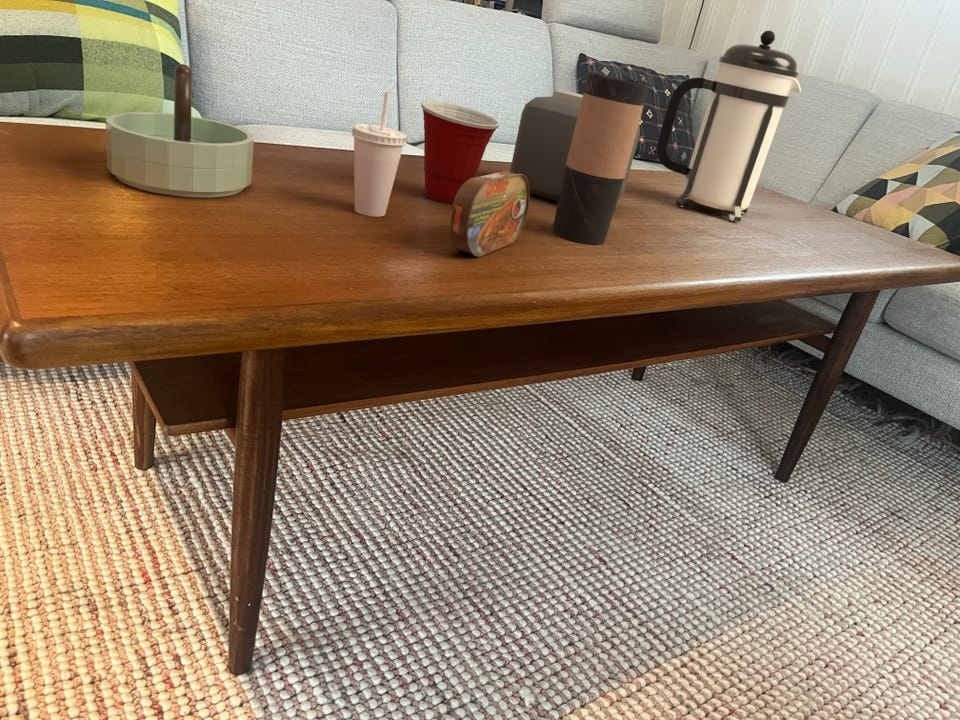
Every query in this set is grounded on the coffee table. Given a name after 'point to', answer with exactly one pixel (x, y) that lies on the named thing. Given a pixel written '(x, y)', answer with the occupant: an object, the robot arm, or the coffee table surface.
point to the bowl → (178, 155)
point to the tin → (489, 212)
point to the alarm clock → (550, 142)
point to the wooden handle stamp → (182, 103)
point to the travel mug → (598, 157)
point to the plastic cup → (453, 146)
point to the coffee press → (733, 125)
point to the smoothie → (375, 164)
